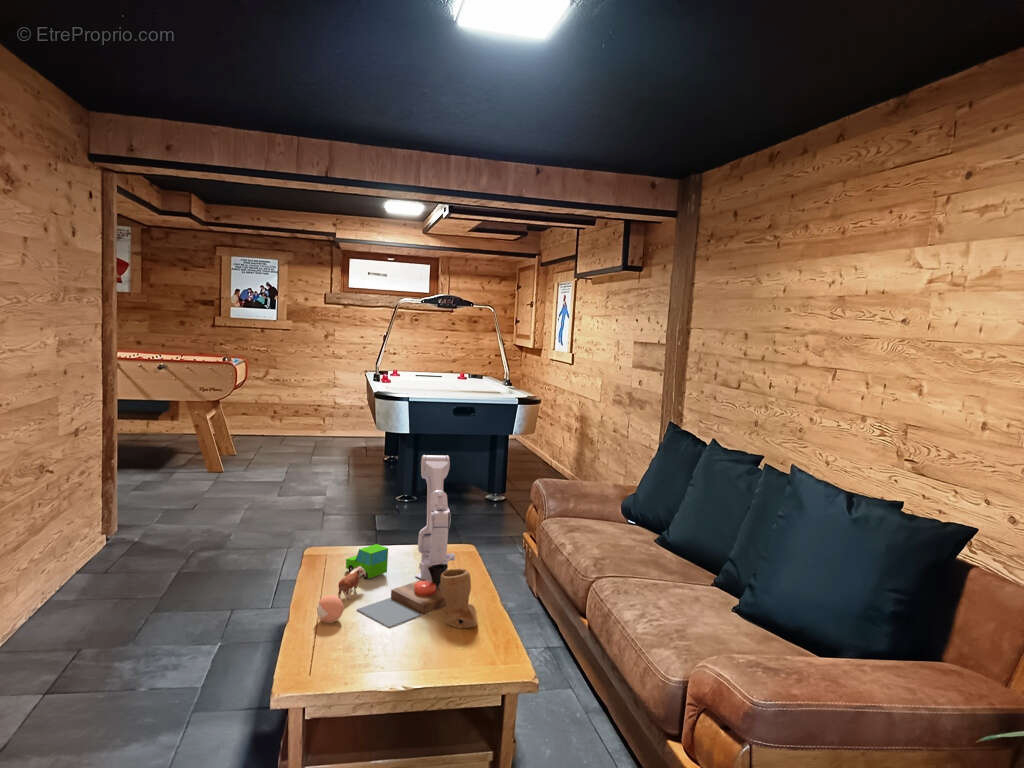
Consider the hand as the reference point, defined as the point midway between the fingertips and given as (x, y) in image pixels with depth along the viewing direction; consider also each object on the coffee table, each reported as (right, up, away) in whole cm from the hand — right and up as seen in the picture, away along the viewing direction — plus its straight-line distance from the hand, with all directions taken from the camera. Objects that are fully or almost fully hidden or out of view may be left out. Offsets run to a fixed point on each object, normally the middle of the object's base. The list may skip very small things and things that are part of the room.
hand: (436, 585), depth 217 cm
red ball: (-3, -1, -4) cm, 5 cm away
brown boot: (+8, -6, -16) cm, 19 cm away
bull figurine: (-28, -2, -3) cm, 28 cm away
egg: (-29, -4, -23) cm, 37 cm away
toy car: (-27, -1, +16) cm, 32 cm away
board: (-4, -4, -4) cm, 7 cm away
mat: (-13, -4, -15) cm, 20 cm away
